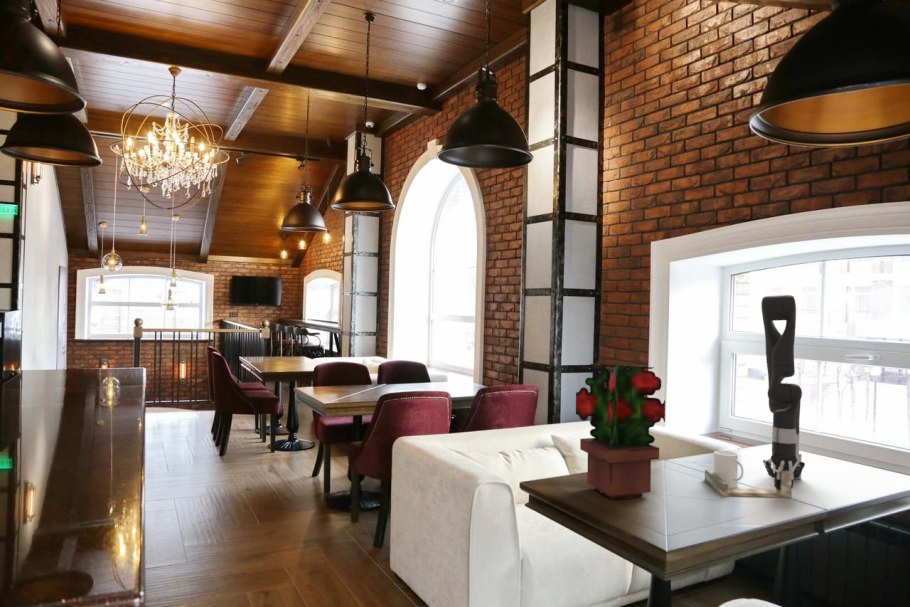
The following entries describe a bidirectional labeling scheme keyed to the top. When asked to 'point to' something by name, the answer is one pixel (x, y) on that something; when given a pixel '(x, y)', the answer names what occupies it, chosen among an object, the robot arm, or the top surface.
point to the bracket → (726, 491)
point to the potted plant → (620, 428)
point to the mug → (727, 467)
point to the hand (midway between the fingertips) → (783, 489)
